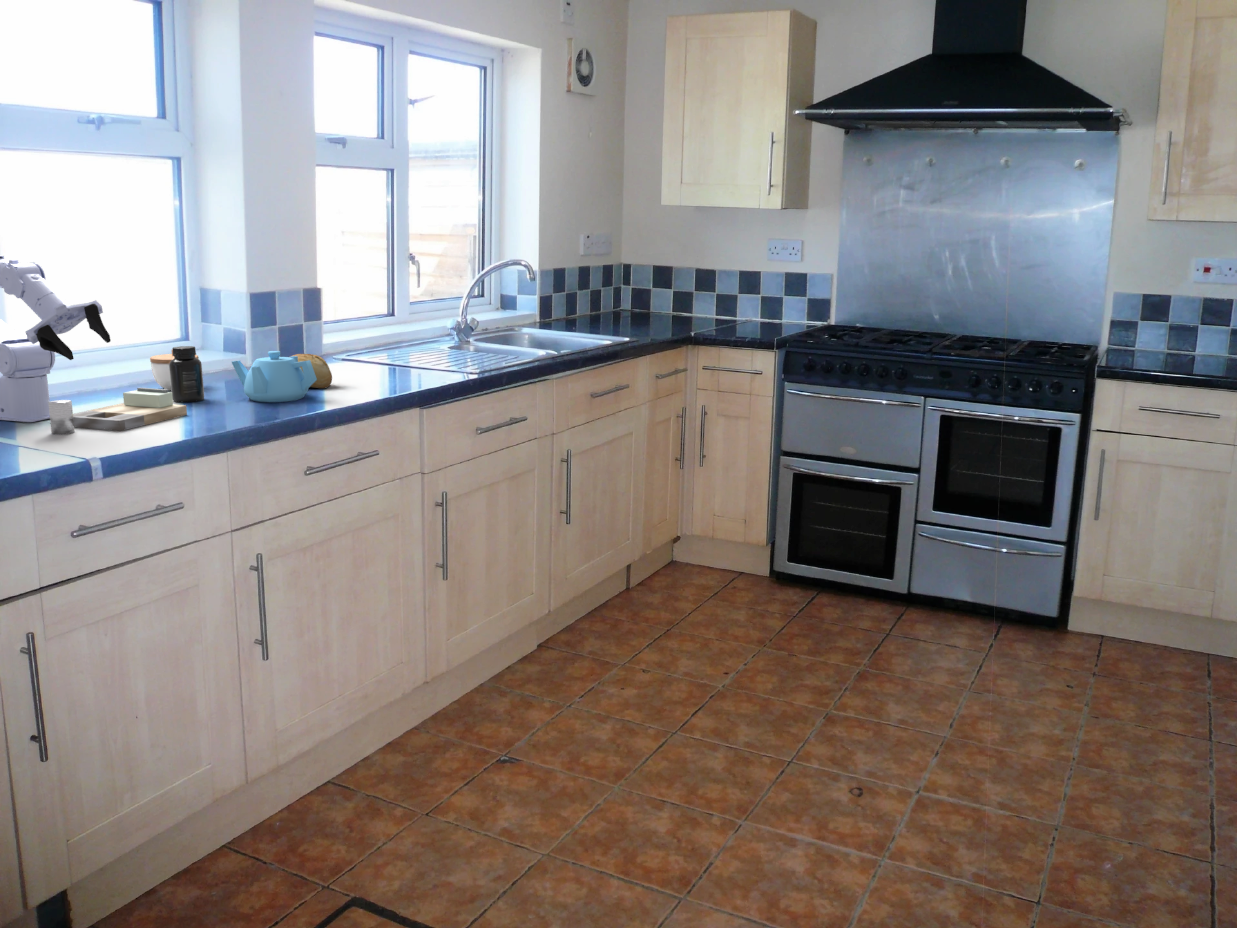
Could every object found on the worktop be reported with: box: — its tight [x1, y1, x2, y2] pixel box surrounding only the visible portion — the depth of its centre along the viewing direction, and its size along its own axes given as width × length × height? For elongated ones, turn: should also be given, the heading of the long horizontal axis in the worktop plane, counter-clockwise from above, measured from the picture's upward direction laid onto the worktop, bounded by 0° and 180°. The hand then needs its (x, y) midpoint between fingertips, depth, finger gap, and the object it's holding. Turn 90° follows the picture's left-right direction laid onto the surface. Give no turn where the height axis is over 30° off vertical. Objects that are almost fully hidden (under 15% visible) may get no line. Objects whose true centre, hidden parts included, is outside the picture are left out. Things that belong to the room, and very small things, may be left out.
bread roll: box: [289, 353, 333, 389], centre depth 271 cm, size 10×15×8 cm, turn 74°
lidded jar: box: [149, 349, 200, 391], centre depth 266 cm, size 11×11×9 cm
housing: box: [73, 402, 188, 432], centre depth 227 cm, size 14×19×2 cm
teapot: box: [231, 350, 317, 403], centre depth 254 cm, size 15×15×11 cm
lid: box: [122, 387, 174, 408], centre depth 232 cm, size 9×4×3 cm, turn 71°
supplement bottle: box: [169, 345, 205, 403], centre depth 250 cm, size 7×7×12 cm
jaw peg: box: [48, 399, 76, 436], centre depth 213 cm, size 4×4×6 cm
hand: (90, 347), depth 214 cm, fingers open, 7 cm apart
